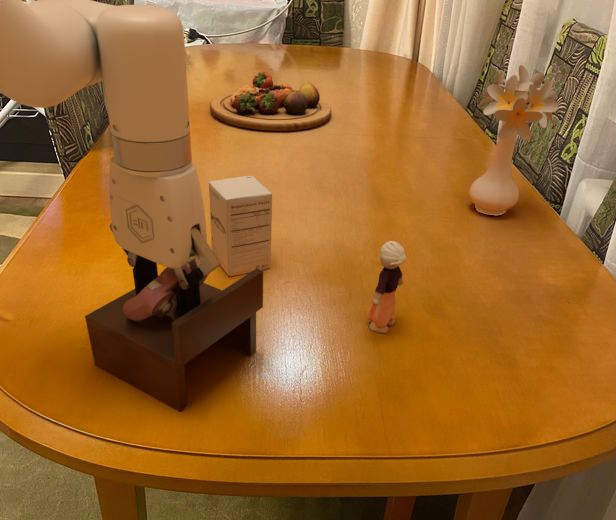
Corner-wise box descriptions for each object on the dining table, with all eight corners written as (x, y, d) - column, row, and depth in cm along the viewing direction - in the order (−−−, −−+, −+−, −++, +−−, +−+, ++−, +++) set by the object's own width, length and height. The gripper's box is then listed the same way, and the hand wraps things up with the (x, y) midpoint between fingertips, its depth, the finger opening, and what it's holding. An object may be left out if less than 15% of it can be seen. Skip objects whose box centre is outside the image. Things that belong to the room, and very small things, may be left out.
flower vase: (464, 230, 109) (498, 83, 94) (452, 190, 124) (480, 58, 109) (537, 236, 109) (582, 89, 94) (516, 195, 124) (552, 63, 109)
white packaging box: (210, 256, 97) (207, 180, 89) (253, 248, 100) (253, 173, 92) (227, 278, 92) (225, 199, 84) (272, 269, 94) (273, 191, 87)
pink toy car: (145, 340, 68) (161, 303, 64) (117, 314, 69) (130, 274, 64) (202, 303, 75) (220, 266, 70) (175, 278, 76) (192, 240, 71)
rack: (94, 365, 74) (76, 278, 66) (175, 314, 83) (167, 233, 76) (187, 415, 67) (178, 326, 60) (262, 354, 77) (263, 270, 70)
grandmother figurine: (374, 309, 87) (386, 228, 79) (400, 315, 86) (415, 234, 78) (358, 337, 81) (369, 253, 73) (386, 344, 80) (400, 260, 72)
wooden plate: (220, 93, 173) (219, 62, 168) (331, 101, 173) (333, 70, 168) (199, 128, 147) (197, 92, 142) (330, 136, 147) (333, 101, 142)
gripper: (63, 139, 61) (92, 292, 72) (192, 182, 54) (203, 344, 65) (120, 122, 66) (139, 267, 77) (245, 160, 59) (246, 314, 70)
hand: (168, 301), depth 71 cm, fingers closed on pink toy car, 5 cm apart
